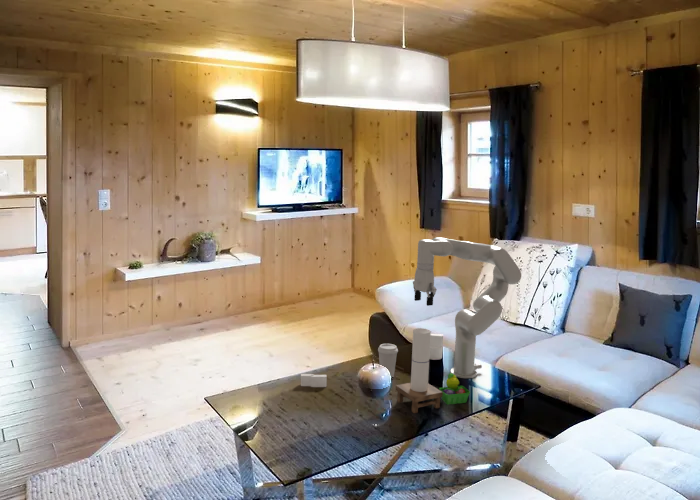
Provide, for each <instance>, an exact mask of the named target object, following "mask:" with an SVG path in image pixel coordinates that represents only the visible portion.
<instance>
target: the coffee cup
mask: <svg viewBox="0 0 700 500" xmlns="http://www.w3.org/2000/svg"><path fill="white" fill-rule="evenodd" d="M377 351H378V360H379V361H378V362H379V364H378V365H379V366H380V365H382V366H384V367H386V368H387V369H388V370H389V371H390V373H391V376H392V377H395V370H396V362H397V354H398V352H399V349H398V347H397V345H395V344H392V343H382V344H380V345H379V347H378V349H377Z"/></svg>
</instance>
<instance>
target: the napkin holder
mask: <svg viewBox="0 0 700 500" xmlns="http://www.w3.org/2000/svg"><path fill="white" fill-rule="evenodd" d="M327 380H328V379H327V374H313V373H300V387H310V388H327V382H328V381H327Z"/></svg>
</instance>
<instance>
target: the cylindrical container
mask: <svg viewBox="0 0 700 500" xmlns="http://www.w3.org/2000/svg"><path fill="white" fill-rule="evenodd" d="M431 332H432V331H431V329H427V328H421V327H420V328H419V327H417V328H414V329H413V330H412V349H411V351H412V352H411V353H412V354H411V368H410V369H411V372H410V383H411V389H412V390H413V391H417V392H424V391H427V390H428V383H429V370H430V359H429V354H430V334H432V333H431Z"/></svg>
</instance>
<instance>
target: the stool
mask: <svg viewBox="0 0 700 500" xmlns="http://www.w3.org/2000/svg"><path fill="white" fill-rule="evenodd" d="M395 391H396V392H397V396H396V397H397V398H396V399H397V403H398V404H400V403H404V398H407V399H408V400H410V401H412V402H411V413H413V414H417V413H418V412H419V408H423V407H428V406H432V405H433V408H435V409H440V408H441V398H442V395H443V392H442V391H440V389H438V388H437V387H435V386H434V385H431V384H430V383H429V382H428V390H427V391H424V392H417V391H413V390H412V389H411V382H406V383H401V384H396V385H395ZM429 400H430V401H429Z"/></svg>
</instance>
